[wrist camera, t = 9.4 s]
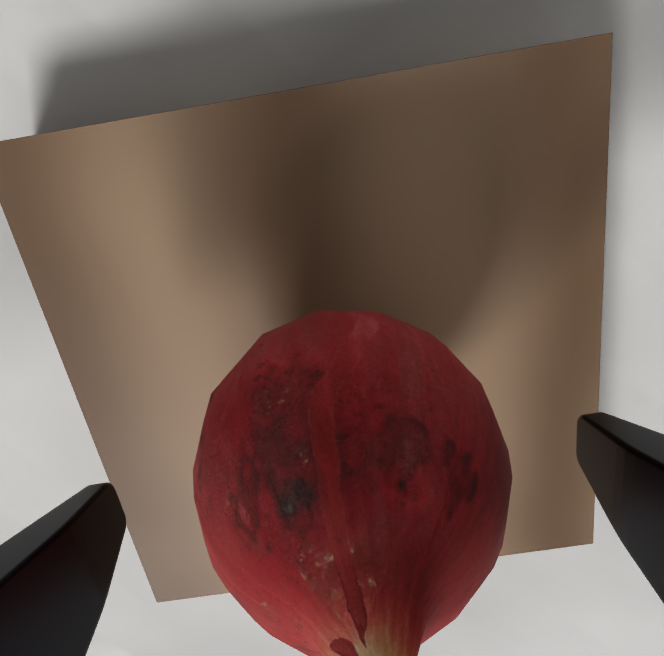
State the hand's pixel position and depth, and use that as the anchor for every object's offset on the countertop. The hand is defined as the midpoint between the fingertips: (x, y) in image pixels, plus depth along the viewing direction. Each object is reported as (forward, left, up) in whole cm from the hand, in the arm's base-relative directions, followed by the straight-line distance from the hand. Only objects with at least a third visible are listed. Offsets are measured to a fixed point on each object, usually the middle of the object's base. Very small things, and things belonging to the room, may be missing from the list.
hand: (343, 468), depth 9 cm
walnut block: (0, 0, -7) cm, 7 cm away
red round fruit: (0, 0, -4) cm, 4 cm away
